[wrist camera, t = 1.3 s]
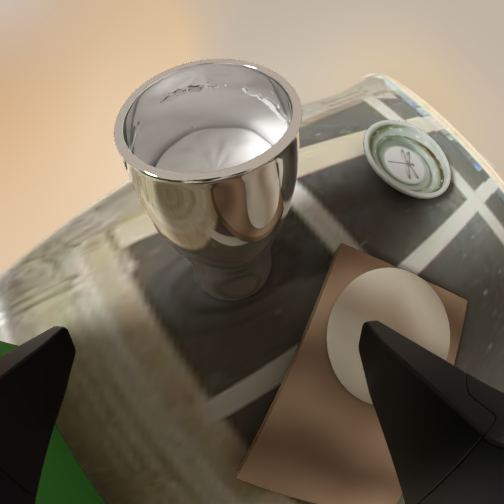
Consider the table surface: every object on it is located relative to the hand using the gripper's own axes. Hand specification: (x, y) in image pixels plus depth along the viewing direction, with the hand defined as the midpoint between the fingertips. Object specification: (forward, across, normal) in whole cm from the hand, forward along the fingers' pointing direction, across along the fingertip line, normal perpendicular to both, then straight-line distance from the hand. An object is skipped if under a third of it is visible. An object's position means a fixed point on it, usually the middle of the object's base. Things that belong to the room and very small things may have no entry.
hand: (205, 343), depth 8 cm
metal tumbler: (+15, 0, +4) cm, 15 cm away
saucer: (+21, -17, -2) cm, 27 cm away
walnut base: (+7, -9, +12) cm, 16 cm away
